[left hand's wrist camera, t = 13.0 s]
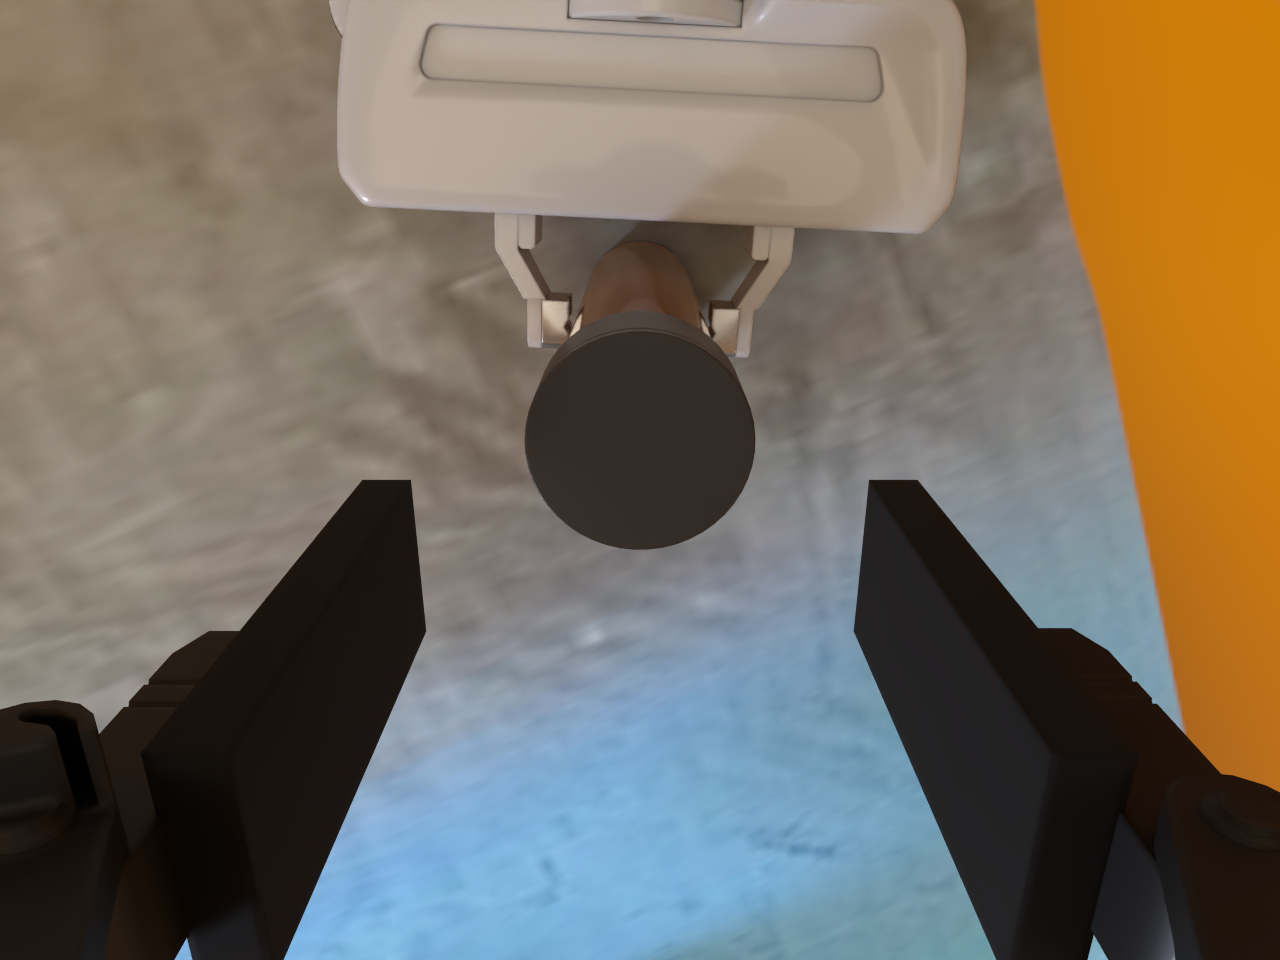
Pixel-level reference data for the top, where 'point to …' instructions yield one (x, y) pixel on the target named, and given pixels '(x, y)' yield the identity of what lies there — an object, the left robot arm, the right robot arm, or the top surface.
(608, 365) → the lid
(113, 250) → the top surface
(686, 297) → the brown cylinder
